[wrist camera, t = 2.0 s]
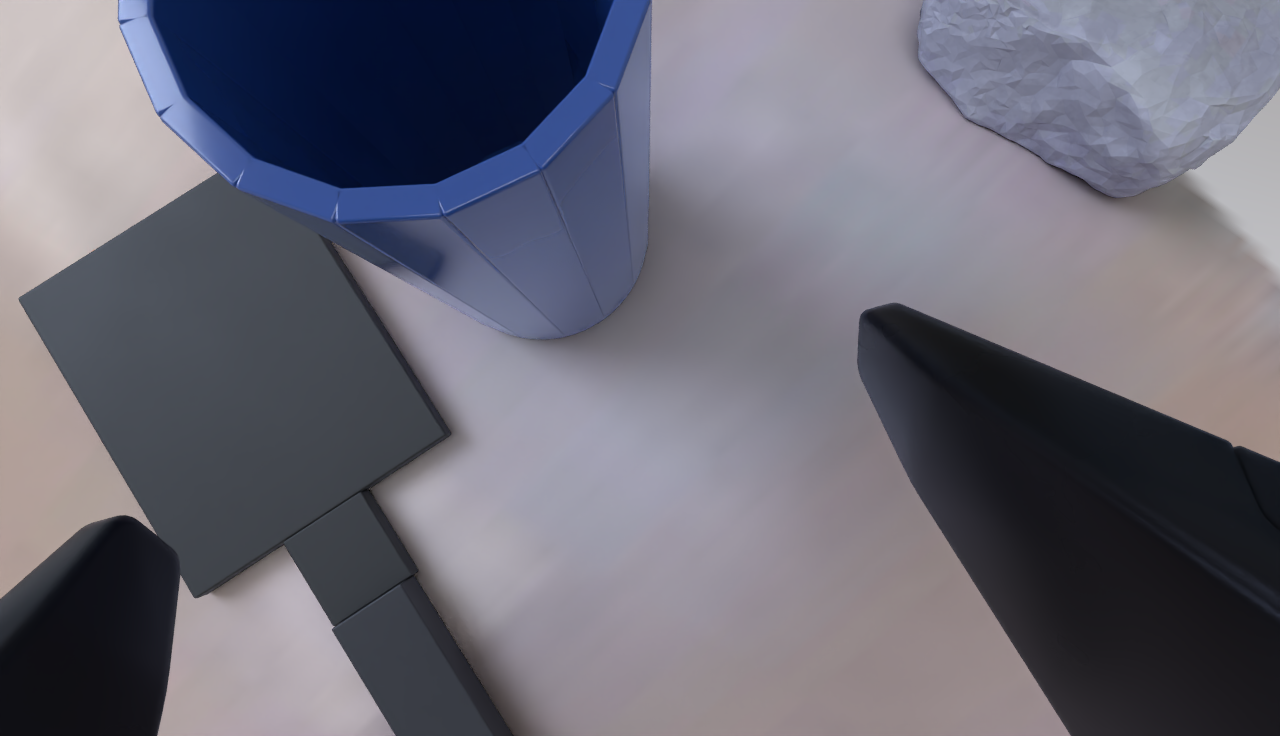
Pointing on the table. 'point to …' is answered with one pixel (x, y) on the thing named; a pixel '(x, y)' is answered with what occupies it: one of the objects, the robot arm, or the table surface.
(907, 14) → the table surface
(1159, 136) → the stone block
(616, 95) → the cup
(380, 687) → the spatula
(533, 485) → the table surface
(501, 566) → the table surface
